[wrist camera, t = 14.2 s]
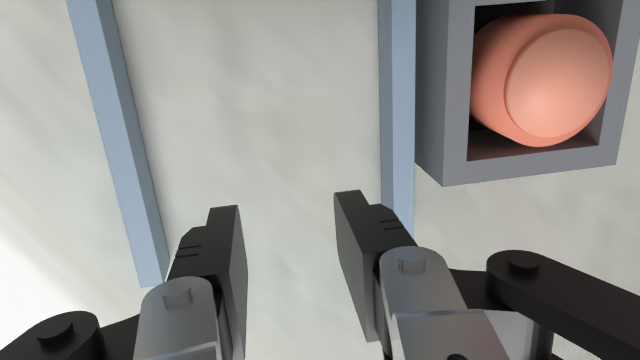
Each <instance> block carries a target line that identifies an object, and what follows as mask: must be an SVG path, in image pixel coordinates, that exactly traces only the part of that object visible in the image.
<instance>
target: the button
mask: <svg viewBox="0 0 640 360" xmlns="http://www.w3.org/2000/svg"><path fill="white" fill-rule="evenodd" d="M612 72H613V59H612V52H611V49H610V45H609V43H608V41H607V38H606V37H605V35H604V34H603V32H602V31H601V30H600V29H599V28H598V27H597V26H596V25H595V24H594V23H592V22H591V21H589V20H587V19H586V18H583V17H580V16H577V15H570V14H511V15H506V16H502V17H499V18H497V19H495V20H493V21H491V22H490V23H488V24H486V25H485V26H484V27H483V28H481V29H480V30H479V31H478V32H477V33H476V34H475V35H474V36H473V52H472V70H471V88H470V106H469V117H470V118H472V119H473V120H474V121H476V122H477V123H479V124H481V125H483V126H485V127H487V128H489V129H491V130H493V131H495V132H497V133H499V134H501V135H503V136H505V137H508V138H510V139H512V140H514V141H516V142H518V143H521V144H523V145H527V146H533V147H544V146H550V145H554V144H557V143H560V142H562V141H565V140H567V139H569V138H570V137H572V136H574V135H575V134H577V133H578V132H579V131H581V130H582V129H583V128H584V127H585V126H586V125H587V124H588V123H589V122H590V121H591V120H592V119H593V118H594V116H595V115H596V114H597V112H598V111H599V109H600V107H601V106H602V104H603V102H604V100H605V98H606V96H607V93H608V90H609V87H610V84H611V79H612Z"/></svg>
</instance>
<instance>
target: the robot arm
mask: <svg viewBox="0 0 640 360" xmlns="http://www.w3.org/2000/svg"><path fill="white" fill-rule="evenodd" d="M334 212H335V225H336V239H337V249H338V256H339V260H340V264H341V267H342V270H343V273H344V276H345V279H346V282H347V285H348V288H349V291H350V294H351V297H352V300H353V303H354V306H355V309H356V312H357V315H358V318H359V321H360V324H361V327H362V329H363V332H364V335H365V338H366V341H367V343H368V342H374V341H380V342H381V345H382V353H383V360H563V359H561V358H560V357H558V356H556V355H555V354H553V353H551V352H552V345H553V338H554V333H556V334H558V335H560V336H561V337H563V338H565V339H567V340H569V341H570V342H572V343H574V344H576V345H578V346H579V347H581V348H583V349H585V350H587V351H588V352H590V353H592V354H594V355H596V356H597V357H599V358H600V359H601V360H640V296H638V295H636V294H633V293H631V292H629V291H626V290H624V289H622V288H619V287H617V286H614V285H612V284H610V283H607V282H605V281H602V280H600V279H598V278H595V277H593V276H591V275H588V274H586V273H583V272H581V271H579V270H576V269H574V268H571V267H569V266H567V265H564V264H562V263H560V262H557V261H555V260H552V259H550V258H548V257H545V256H543V255H540V254H537V253H533V252H529V251H523V250H506V251H500V252H497V253H495V254H493V255H491V256H490V257H489V258H488V260H487V265H486V271H466V270H455V269H450V268H448V266H447V264H446V262H445V260H444V258H443V257H442V256H441V255H440V254H438V253H437V252H435V251H433V250H430V249H428V248H424V247H418V245H417V244H416V242H415V241H414V239H413V238H412V237H411V235H410V234H409V232H408V231H407V230H406V228H404V225H403V224H402V222H401V221H399V218H398V217H397V215H396V214H395V213H394V211H393V210H392V209H390V208H388V207H386V206H384V205H382V204H373V205H369V204H368V202H367V201H366V199H365V197H364V195H363V194H362V192H361V191H360V190H352V191H344V192H336V193H334ZM247 289H248V268H247V258H246V252H245V245H244V239H243V233H242V226H241V220H240V214H239V209H238V205H230V206H222V207H214V208H210V211H209V215H208V219H207V223H206V226H201V227H193V228H192V229H190V230H189V231H188V232H187V233H186V234H185V235H184V236H183V237H182V238H181V241H180V244H179V247H178V250H177V253H176V255H175V259H174V261H173V264H172V267H171V270H170V273H169V276H168V279H167V281H166V282H164V283H162V284H160V285H158V286H156V287H155V288H153V289H152V290H151V291H150V292H148V293H147V295H146V296H145V297H144V299H143V301H142V304H141V311H140V314H138V315H135V316H133V317H131V318H128V319H126V320H123V321H120V322H117V323H114V324H111V325H108V326H105V327H102V328H100V326H99V322H98V319H97V317H96V316H95V315H94V314H92V313H90V312H86V311H72V312H66V313H62V314H59V315H56V316H53V317H50V318H48V319H46V320H44V321H42V322H40V323H38V324H36V325H34V326H33V327H32V328H30V329H29V330H27V331H26V332H25V333H23V334H22V335H21V336H19V337H18V338H17V339H15V340H14V341H12V342H11V343H10V344H8V345H7V346H6V347H4V348H3V349H2V350H0V360H245V344H246V316H247Z"/></svg>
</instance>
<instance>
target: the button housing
mask: <svg viewBox="0 0 640 360" xmlns="http://www.w3.org/2000/svg"><path fill="white" fill-rule="evenodd" d="M532 1H544V0H416V45H415V154H414V162H415V163H416V164H417V165H419V166H420V167H421V168H422V169H423V170H424V171H425V172H426V173H428V174H429V175H430V176H431V177H432V178H433V179H434V180H435V181H436V182H438V183H439V184H440V185H441V186H442V187H447V186H454V185H462V184H470V183H478V182H485V181H493V180H501V179H509V178H516V177H524V176H532V175H539V174H547V173H555V172H563V171H570V170H578V169H586V168H594V167H601V166H609V165H616V160H617V155H618V150H619V144H620V139H621V134H622V128H623V123H624V118H625V112H626V107H627V102H628V96H629V91H630V86H631V81H632V75H633V70H634V65H635V59H636V54H637V49H638V43H639V38H640V0H556V1H555V10H554V14H570V15H577V16H580V17H583V18H586V19H587V20H589V21H591V22H592V23H594V24H595V25H596V26H597V27H598V28H599V29H600V30H601V31H602V32H603V34H604V35H605V37H606V38H607V41H608V43H609V45H610V49H611V52H612V59H613V72H612V79H611V84H610V87H609V90H608V93H607V96H606V98H605V100H604V102H603V104H602V106H601V107H600V109H599V111H598V112H597V114H596V115H595V116H594V118H593V119H592V120H591V121H590V122H589V123H588V124H587V125H586V126H585V127H584V128H583V129H582V130H581V131H579V132H578V133H577V134H575V135H574V136H572V137H570V138H569V139H567V140H565V141H562V142H560V143H557V144H554V145H550V146H544V147H533V146H527V145H523V144H521V143H518V142H516V141H514V140H512V139H510V138H508V137H505V136H503V135H501V134H499V133H497V132H495V131H493V130H491V129H489V130H480V131H471V132H468V124H469V106H470V88H471V70H472V52H473V34H474V16H475V6H481V5H494V4H506V3H519V2H532Z"/></svg>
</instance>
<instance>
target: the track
mask: <svg viewBox="0 0 640 360" xmlns="http://www.w3.org/2000/svg"><path fill="white" fill-rule="evenodd" d="M66 4H67V8H68V12H69V15H70V19H71V23H72V27H73V31H74V35H75V38H76V42H77V46H78V50H79V54H80V57H81V61H82V65H83V69H84V73H85V76H86V80H87V84H88V88H89V92H90V96H91V99H92V103H93V107H94V111H95V115H96V118H97V122H98V126H99V130H100V134H101V137H102V141H103V145H104V149H105V153H106V157H107V160H108V164H109V168H110V172H111V176H112V179H113V183H114V187H115V191H116V195H117V198H118V202H119V206H120V210H121V214H122V218H123V221H124V225H125V229H126V233H127V237H128V240H129V244H130V248H131V252H132V256H133V259H134V263H135V267H136V271H137V275H138V279H139V282H140V286H141V288H143V287H150V286H157V285H160V284H162V283H164V281H165V278H166V274H167V271H168V268H169V264H170V258H169V254H168V249H167V245H166V241H165V236H164V232H163V227H162V223H161V219H160V214H159V210H158V205H157V201H156V197H155V192H154V188H153V183H152V179H151V175H150V170H149V166H148V161H147V157H146V153H145V148H144V144H143V139H142V135H141V131H140V126H139V122H138V117H137V113H136V109H135V104H134V100H133V95H132V91H131V87H130V82H129V78H128V73H127V69H126V64H125V60H124V56H123V51H122V47H121V42H120V38H119V34H118V29H117V25H116V20H115V16H114V12H113V7H112V3H111V0H66ZM378 41H379V90H380V139H381V188H382V205H384V206H386V207H388V208H390V209H392V210H393V211H394V213H395V214H396V215H397V217H398V218H399V221H401V222H402V224H403V225H404V228H406V230H407V231H408V232H409V234H410V235H411V237H412V238H413V239H414V154H415V45H416V0H378Z"/></svg>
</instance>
